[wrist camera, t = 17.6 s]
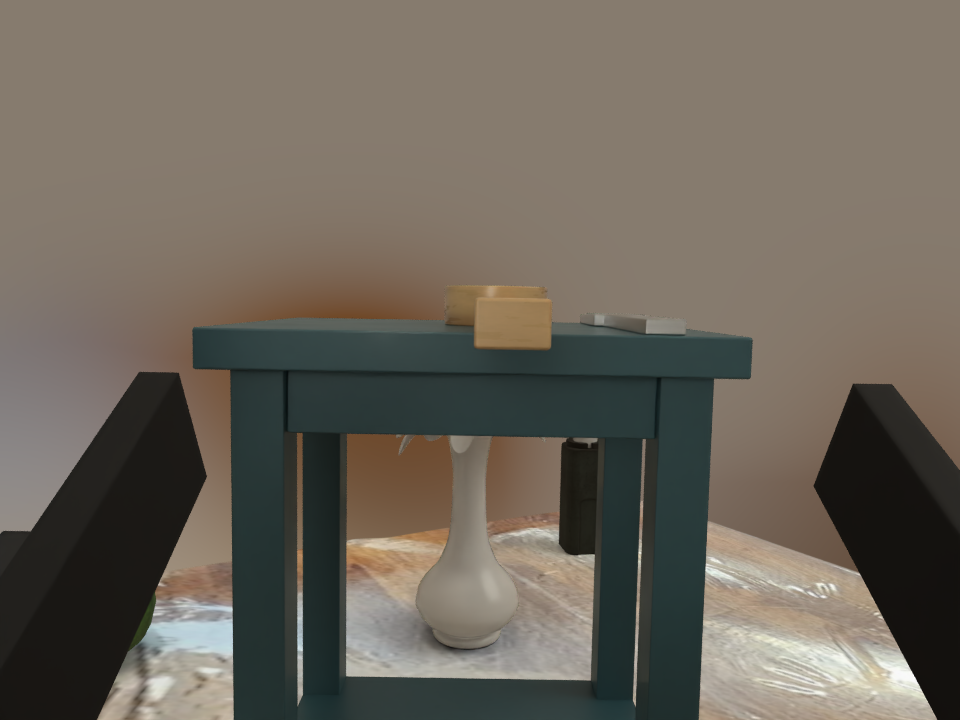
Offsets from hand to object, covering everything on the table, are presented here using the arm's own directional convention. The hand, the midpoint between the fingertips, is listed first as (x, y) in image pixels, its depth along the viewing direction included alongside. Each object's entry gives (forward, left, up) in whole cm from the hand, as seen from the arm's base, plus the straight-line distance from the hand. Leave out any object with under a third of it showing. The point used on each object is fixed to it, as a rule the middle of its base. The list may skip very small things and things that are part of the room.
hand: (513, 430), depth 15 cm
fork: (-14, +13, +1) cm, 20 cm away
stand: (-17, +7, -28) cm, 33 cm away
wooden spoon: (-11, +5, +1) cm, 12 cm away
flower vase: (-45, +19, -28) cm, 56 cm away
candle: (-60, +42, -28) cm, 79 cm away
